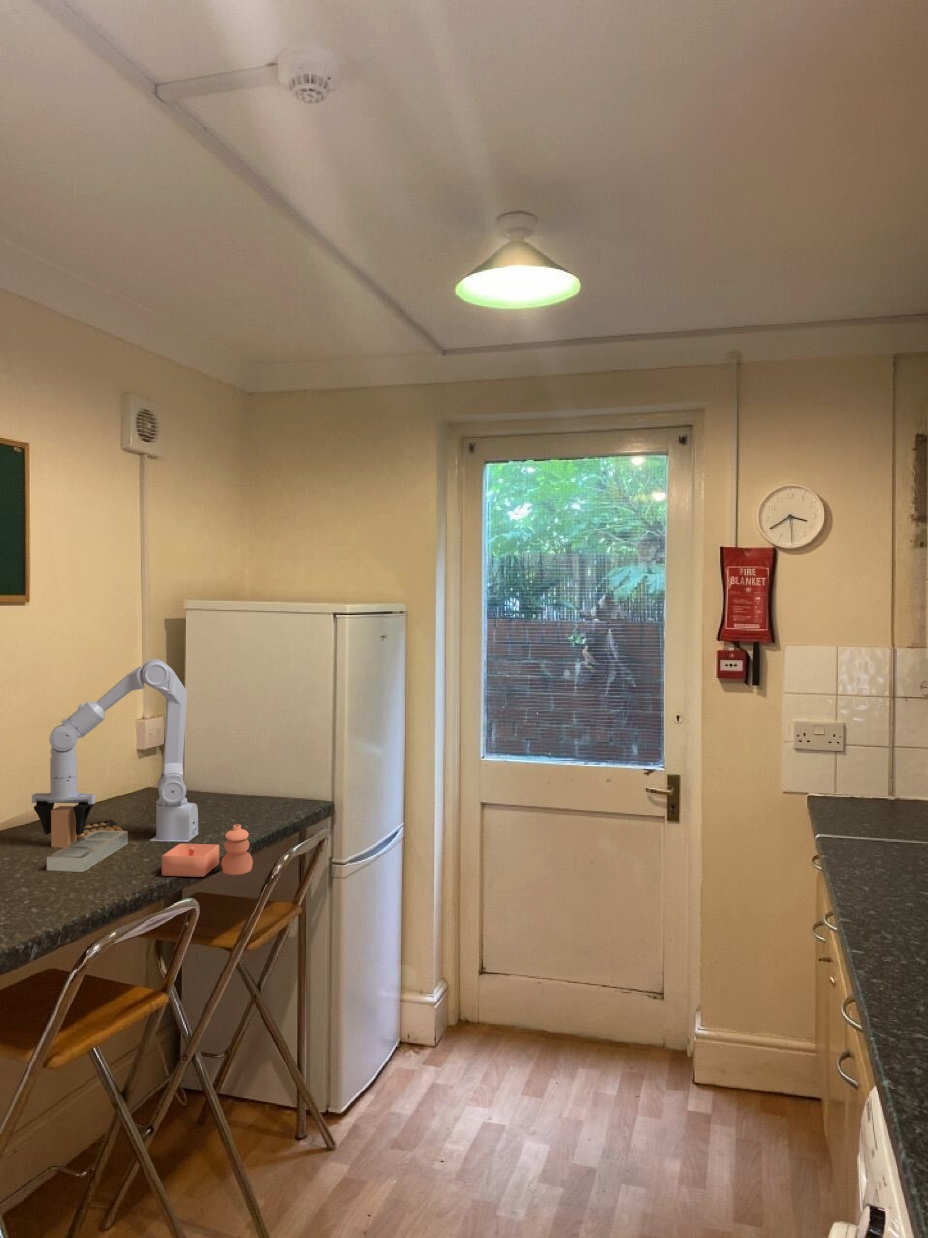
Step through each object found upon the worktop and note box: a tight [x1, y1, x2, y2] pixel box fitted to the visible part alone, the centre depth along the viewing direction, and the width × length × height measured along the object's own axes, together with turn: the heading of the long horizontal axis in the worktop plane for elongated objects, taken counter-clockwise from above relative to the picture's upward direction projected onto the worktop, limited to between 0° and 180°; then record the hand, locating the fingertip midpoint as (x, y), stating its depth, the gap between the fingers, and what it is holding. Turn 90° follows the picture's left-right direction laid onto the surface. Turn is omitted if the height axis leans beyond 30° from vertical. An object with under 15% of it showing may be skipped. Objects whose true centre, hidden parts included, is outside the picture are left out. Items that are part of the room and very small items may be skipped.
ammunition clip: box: [76, 819, 124, 840], centre depth 221 cm, size 11×2×12 cm
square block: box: [51, 805, 77, 849], centre depth 212 cm, size 4×4×9 cm
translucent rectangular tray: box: [46, 830, 129, 873], centre depth 203 cm, size 22×8×3 cm, turn 177°
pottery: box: [161, 824, 254, 878], centre depth 195 cm, size 18×10×10 cm, turn 85°
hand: (64, 833), depth 212 cm, fingers open, 7 cm apart
